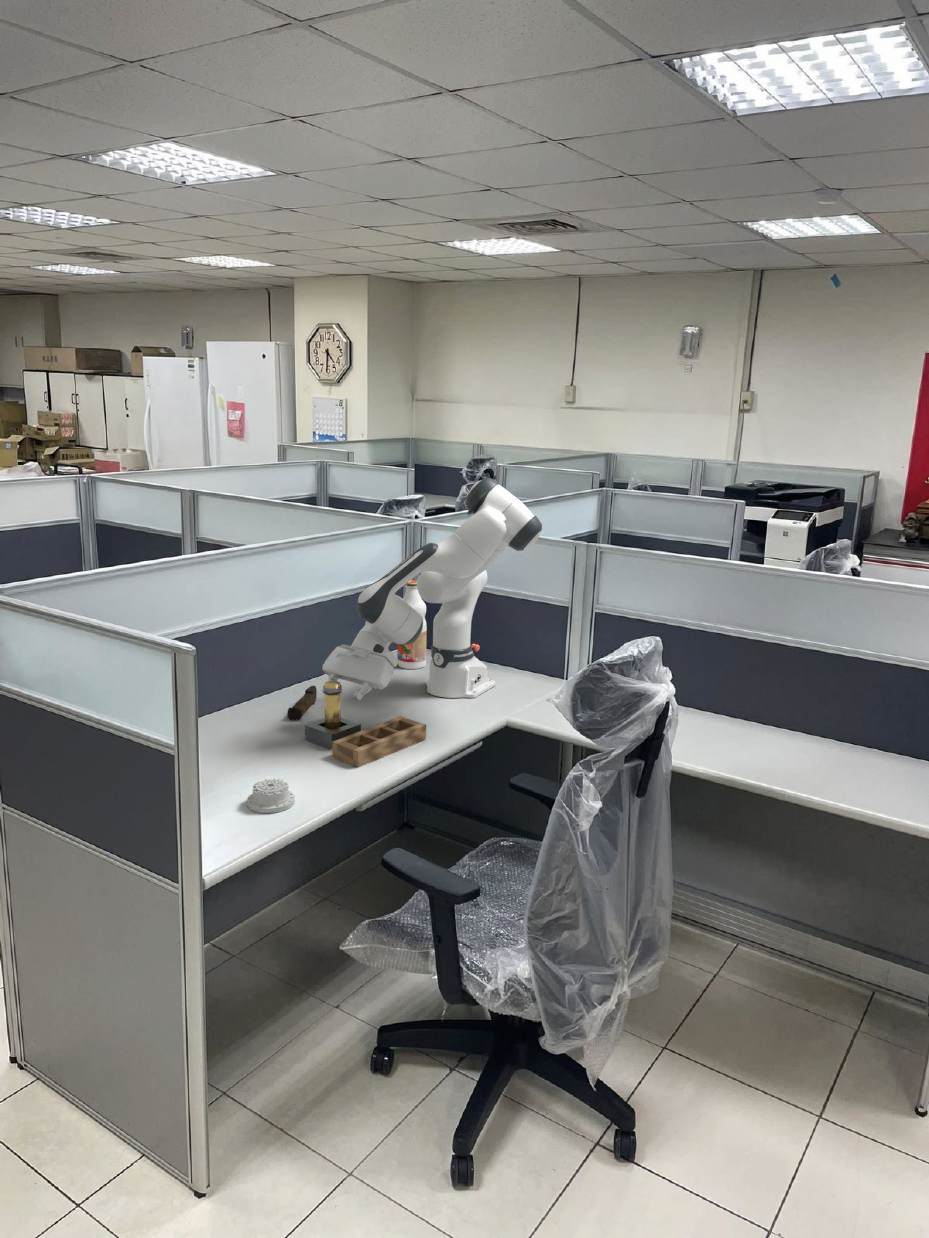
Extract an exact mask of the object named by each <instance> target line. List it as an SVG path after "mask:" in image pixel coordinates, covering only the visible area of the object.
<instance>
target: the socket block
mask: <svg viewBox="0 0 929 1238" xmlns="http://www.w3.org/2000/svg"><path fill="white" fill-rule="evenodd" d="M360 731H362V724H361V723H358V722H356V721H353V720H349V719H347V718H344V717H343V716H341V727H340V728H337V729H334V730H330V729H327V728H325V717H324V718H321V719H318V720H315V721H312V722H310V723H309V722H308V723H307V724H304V740H305V741H306V742H307V741H308V742H310V743H311V744H315V745H318V746H320V747H323V748H326V749H329V750H331V749H332V742H333V741H336V740H338V739H341V738H344V737H346V736H349V735H352V734H355V733H357V732H360Z"/></svg>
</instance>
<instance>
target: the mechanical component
mask: <svg viewBox="0 0 929 1238" xmlns="http://www.w3.org/2000/svg"><path fill="white" fill-rule="evenodd" d="M288 783H289V782H287V781H286V782H285V781H284V780H283V779H280V778H277V779H276V778H271V779H266V778H265V779H264V780H261V781H257V782H255V783H254V784H253V785H252V793H251V794H249V795H248V797H247V798H246V805H247V807H248V809H249V810H251V811H253V812H255V813H259V814H275V813H281V812H284V811H286V810H289V809H290V808H292V807H293V806H294V805H295V802H296V799H295V798H296V797H295V795H294V793H293V792H292V791H290V789H289V788H290V787H289V784H288Z"/></svg>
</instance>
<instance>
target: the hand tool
mask: <svg viewBox="0 0 929 1238" xmlns="http://www.w3.org/2000/svg"><path fill="white" fill-rule="evenodd" d="M317 694H318V693H317V687H316V685H310V686H309V687H307V688H306V689H305V691H304V694H303V696H301V697H300V699H299V700H297V701H296V703H294V705H293V706H292V707H288V709H287V718H288V720H289V721H300V720H301V719H302V718H303V716H304V714H305V712H306V711H308V709H310V707H311V706H313V705H315V704H316V701H317V697H318V696H317Z"/></svg>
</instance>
